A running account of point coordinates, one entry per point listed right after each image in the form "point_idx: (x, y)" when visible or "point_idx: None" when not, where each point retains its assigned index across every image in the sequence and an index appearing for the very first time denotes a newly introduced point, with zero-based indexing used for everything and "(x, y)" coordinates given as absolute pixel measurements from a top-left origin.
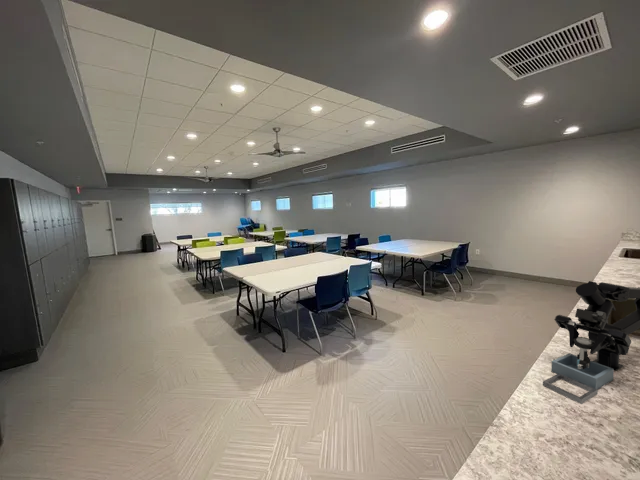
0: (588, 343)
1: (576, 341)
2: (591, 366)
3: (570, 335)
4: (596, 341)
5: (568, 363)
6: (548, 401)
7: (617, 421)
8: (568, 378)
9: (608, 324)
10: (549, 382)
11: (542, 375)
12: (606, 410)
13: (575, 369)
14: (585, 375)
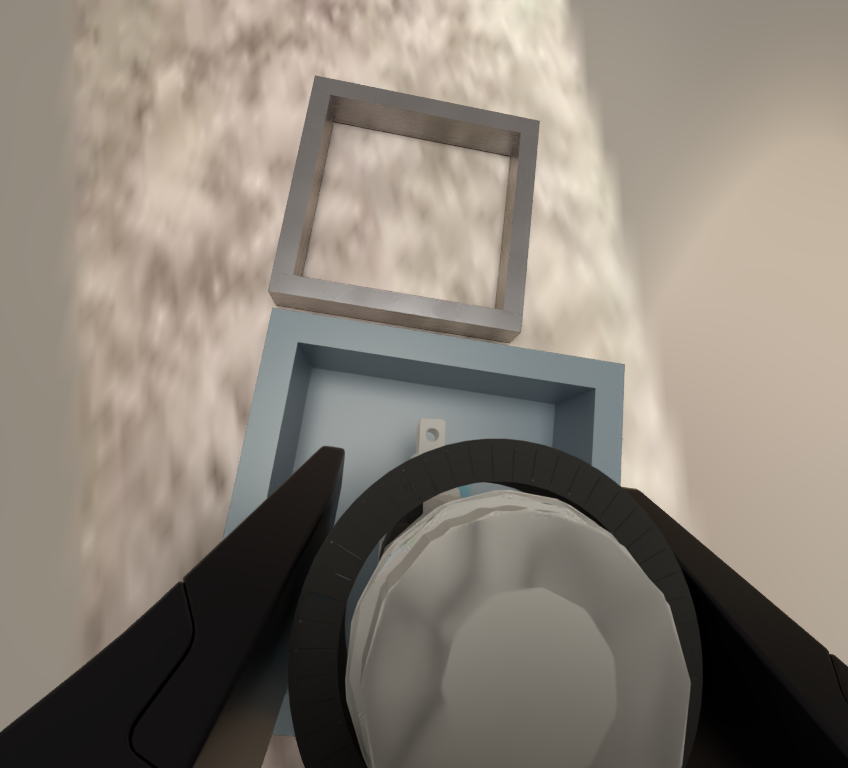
0: (397, 569)
1: (612, 526)
2: None
3: (840, 678)
4: (202, 675)
5: None
6: (443, 6)
7: (147, 70)
8: (451, 303)
9: None
10: (513, 172)
11: (584, 277)
12: (205, 139)
13: (438, 355)
14: (354, 324)
